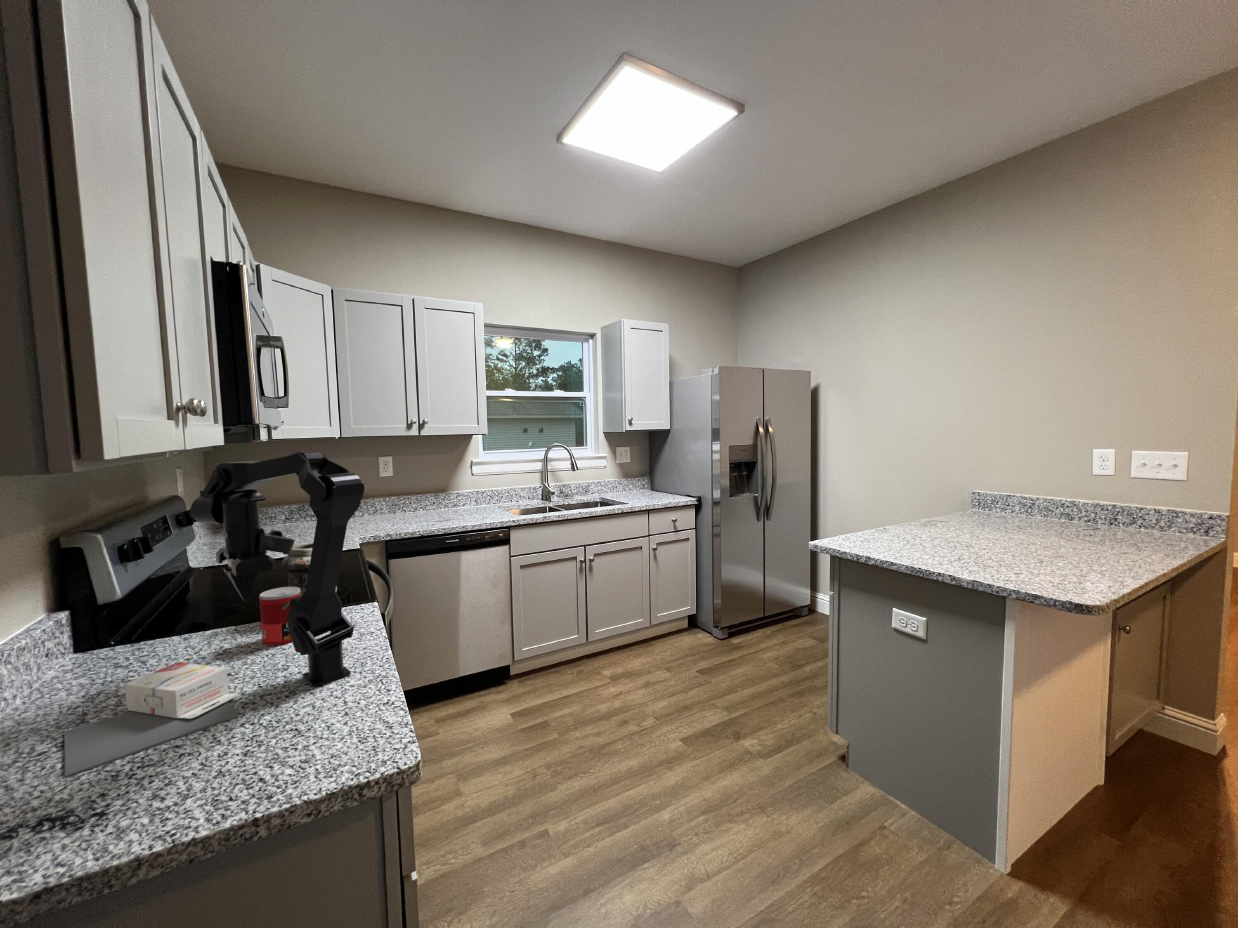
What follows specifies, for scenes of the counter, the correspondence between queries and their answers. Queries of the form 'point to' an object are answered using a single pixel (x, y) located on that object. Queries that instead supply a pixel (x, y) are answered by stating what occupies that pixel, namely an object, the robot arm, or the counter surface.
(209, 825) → the counter surface
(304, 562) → the apothecary jar
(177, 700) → the ink cartridge box
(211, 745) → the counter surface
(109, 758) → the mat
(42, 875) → the counter surface
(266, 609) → the canned food
